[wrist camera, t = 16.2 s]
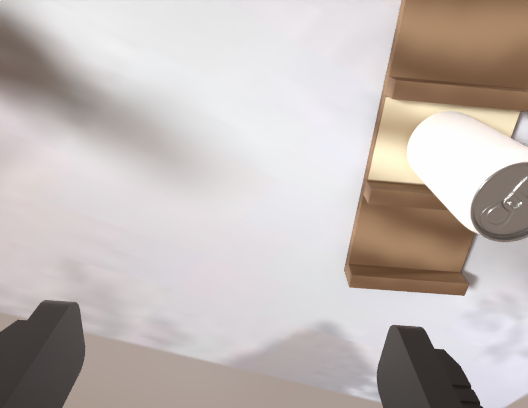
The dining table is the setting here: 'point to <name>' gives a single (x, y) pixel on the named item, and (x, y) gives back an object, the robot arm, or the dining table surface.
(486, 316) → the dining table surface
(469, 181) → the can
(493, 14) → the notch rack
